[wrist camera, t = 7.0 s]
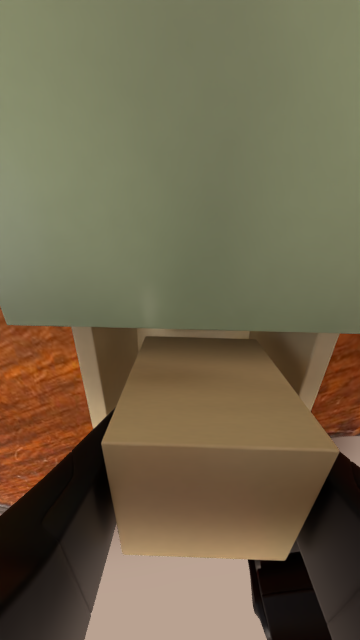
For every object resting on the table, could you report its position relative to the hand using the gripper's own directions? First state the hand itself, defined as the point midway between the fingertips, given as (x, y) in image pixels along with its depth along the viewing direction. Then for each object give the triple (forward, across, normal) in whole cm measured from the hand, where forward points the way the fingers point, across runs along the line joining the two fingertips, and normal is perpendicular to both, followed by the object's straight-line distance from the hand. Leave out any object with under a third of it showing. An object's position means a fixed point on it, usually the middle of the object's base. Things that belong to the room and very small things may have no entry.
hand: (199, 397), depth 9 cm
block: (+1, 0, 0) cm, 1 cm away
